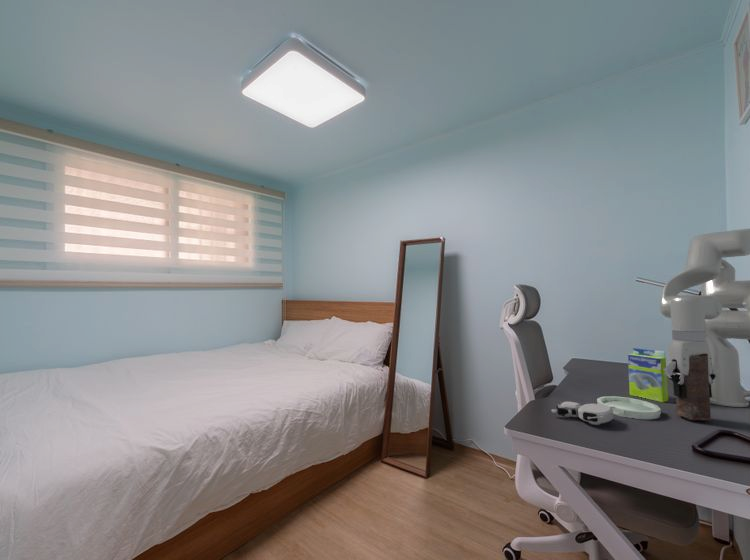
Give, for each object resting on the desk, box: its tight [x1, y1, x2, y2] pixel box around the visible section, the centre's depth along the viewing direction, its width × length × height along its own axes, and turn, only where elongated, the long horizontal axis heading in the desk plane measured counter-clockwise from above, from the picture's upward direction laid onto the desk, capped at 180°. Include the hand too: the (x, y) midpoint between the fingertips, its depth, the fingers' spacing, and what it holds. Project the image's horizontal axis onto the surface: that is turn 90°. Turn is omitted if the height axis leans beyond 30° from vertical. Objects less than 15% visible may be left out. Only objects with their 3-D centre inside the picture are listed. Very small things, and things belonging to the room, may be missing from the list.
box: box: [627, 347, 669, 403], centre depth 121 cm, size 10×4×17 cm, turn 28°
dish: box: [596, 395, 662, 421], centre depth 107 cm, size 16×16×2 cm
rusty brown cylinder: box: [675, 354, 712, 422], centre depth 99 cm, size 8×7×20 cm
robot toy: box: [551, 401, 615, 426], centre depth 100 cm, size 12×4×15 cm
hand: (692, 396), depth 99 cm, fingers closed on rusty brown cylinder, 7 cm apart
